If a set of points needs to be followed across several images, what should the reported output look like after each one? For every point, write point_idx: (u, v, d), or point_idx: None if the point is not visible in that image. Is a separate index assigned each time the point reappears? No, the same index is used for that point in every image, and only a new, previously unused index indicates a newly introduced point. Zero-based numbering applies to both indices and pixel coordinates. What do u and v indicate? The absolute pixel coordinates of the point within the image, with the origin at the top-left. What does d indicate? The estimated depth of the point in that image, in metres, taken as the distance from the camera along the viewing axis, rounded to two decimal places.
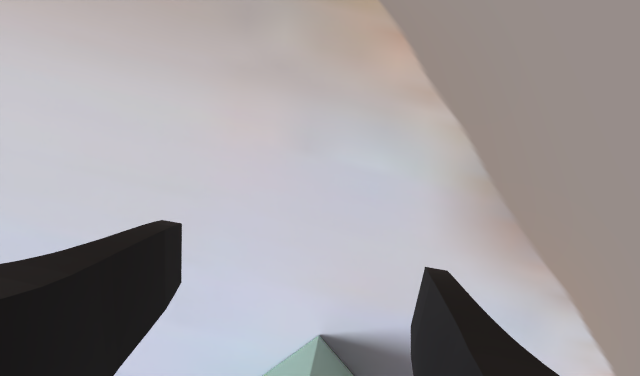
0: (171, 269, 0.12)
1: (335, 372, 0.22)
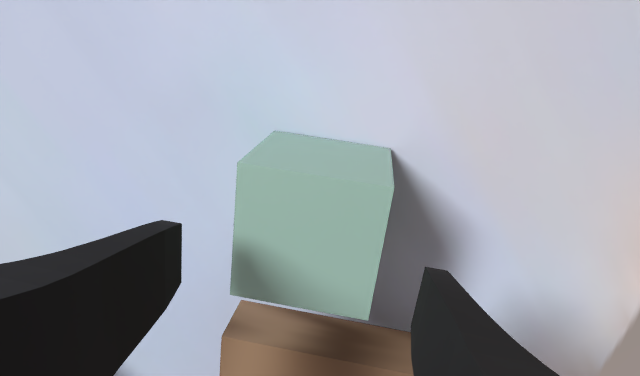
0: (171, 269, 0.12)
1: None
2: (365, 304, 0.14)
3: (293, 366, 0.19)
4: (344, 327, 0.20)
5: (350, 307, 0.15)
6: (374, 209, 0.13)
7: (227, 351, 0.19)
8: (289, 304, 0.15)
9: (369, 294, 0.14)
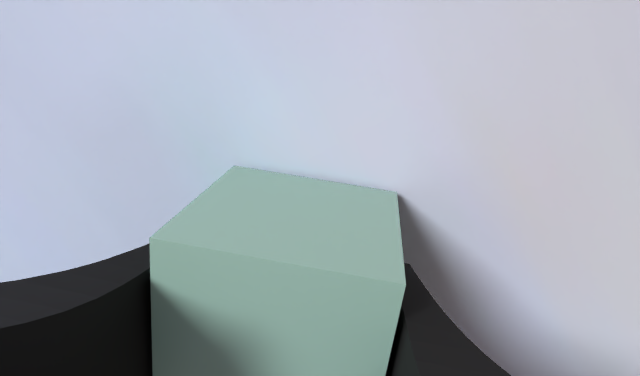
0: None
1: None
2: None
3: None
4: None
5: None
6: (371, 317, 0.08)
7: None
8: None
9: None
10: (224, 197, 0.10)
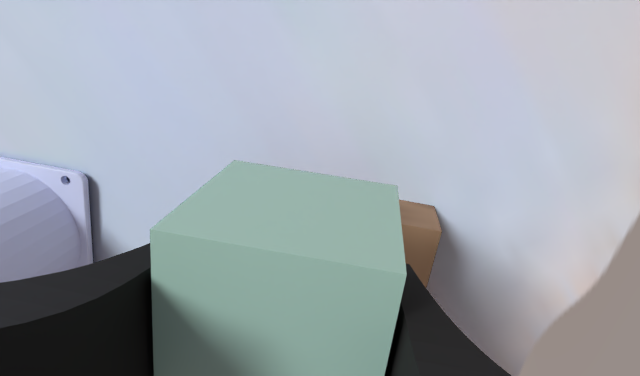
0: None
1: None
2: None
3: None
4: None
5: None
6: (372, 307, 0.08)
7: None
8: None
9: None
10: (224, 190, 0.10)
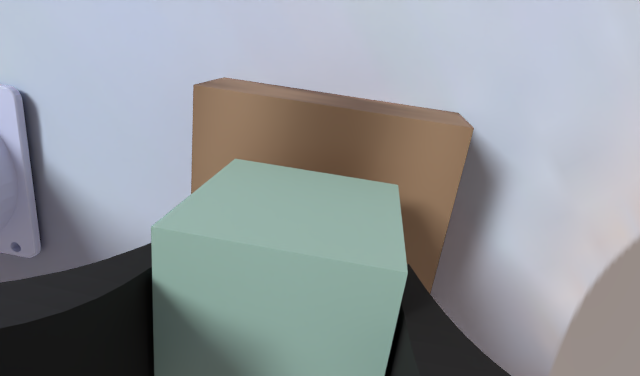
0: None
1: None
2: None
3: (292, 126, 0.14)
4: (360, 100, 0.15)
5: None
6: (373, 305, 0.08)
7: (201, 110, 0.14)
8: None
9: None
10: (225, 188, 0.10)
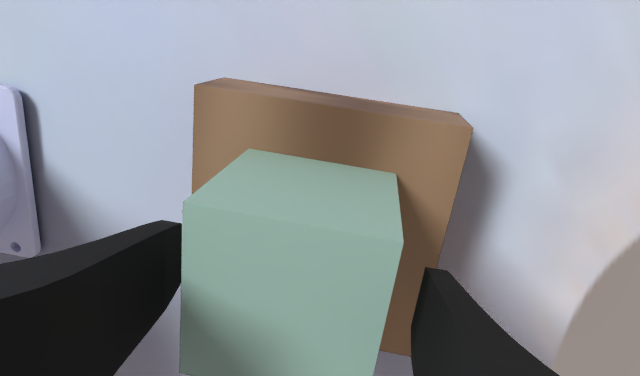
0: (171, 269, 0.12)
1: None
2: None
3: (292, 126, 0.14)
4: (360, 100, 0.15)
5: None
6: (373, 271, 0.09)
7: (202, 109, 0.14)
8: None
9: None
10: (243, 173, 0.12)
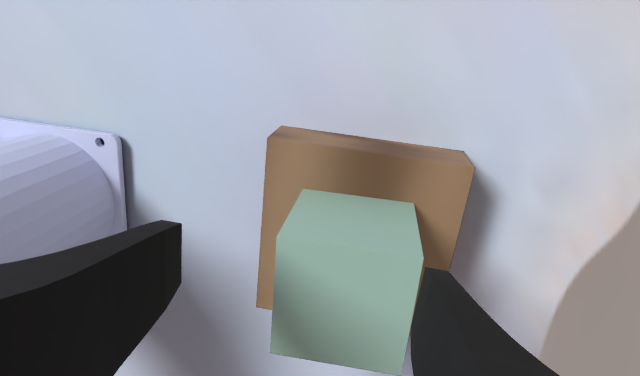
0: (171, 269, 0.12)
1: None
2: (398, 361, 0.15)
3: (340, 166, 0.18)
4: (388, 143, 0.20)
5: (383, 364, 0.15)
6: (404, 277, 0.14)
7: (272, 155, 0.19)
8: (326, 361, 0.16)
9: (401, 352, 0.15)
10: (306, 211, 0.17)
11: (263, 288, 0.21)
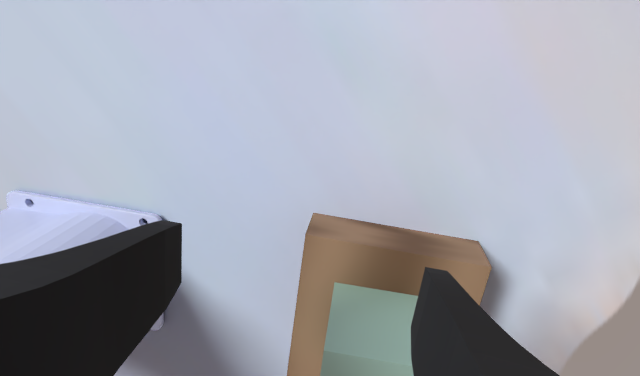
0: (171, 269, 0.12)
1: None
2: None
3: (371, 261, 0.21)
4: (411, 233, 0.22)
5: None
6: None
7: (309, 249, 0.21)
8: None
9: None
10: (343, 314, 0.19)
11: (294, 360, 0.23)
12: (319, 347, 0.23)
